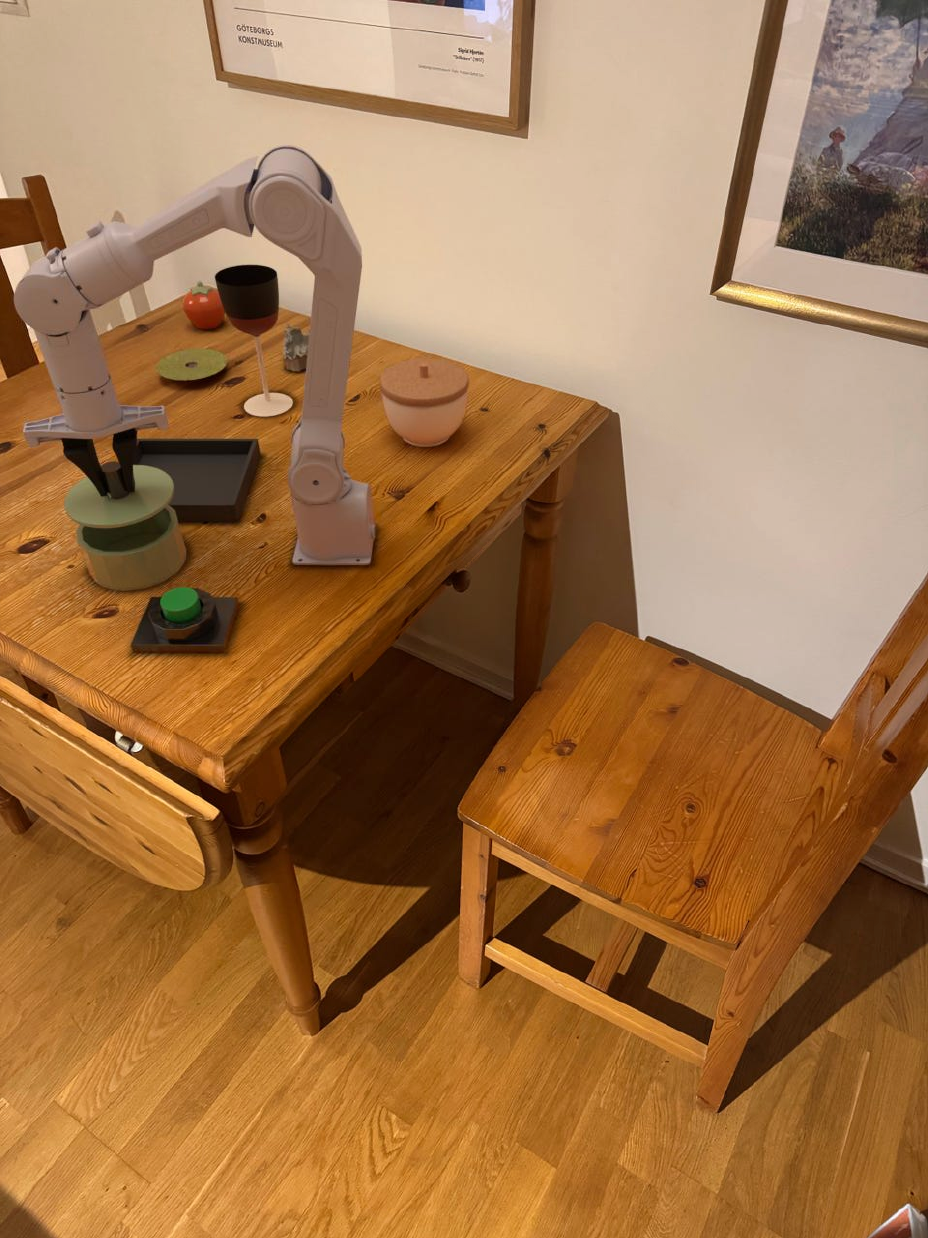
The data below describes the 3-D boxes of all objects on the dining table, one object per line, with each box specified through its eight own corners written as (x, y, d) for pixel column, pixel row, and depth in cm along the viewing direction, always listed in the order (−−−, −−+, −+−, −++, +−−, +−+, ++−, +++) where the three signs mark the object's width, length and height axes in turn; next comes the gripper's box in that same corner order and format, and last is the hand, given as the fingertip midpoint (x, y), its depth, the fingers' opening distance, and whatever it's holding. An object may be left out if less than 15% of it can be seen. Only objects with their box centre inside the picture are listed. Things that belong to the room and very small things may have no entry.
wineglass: (286, 419, 131) (264, 288, 117) (232, 414, 132) (205, 283, 118) (303, 394, 136) (285, 266, 123) (251, 389, 138) (228, 262, 124)
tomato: (217, 313, 159) (208, 269, 154) (237, 326, 155) (228, 281, 150) (180, 324, 156) (169, 280, 151) (199, 337, 152) (189, 292, 146)
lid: (187, 472, 105) (178, 438, 101) (160, 532, 96) (149, 497, 92) (87, 472, 105) (75, 438, 102) (51, 532, 96) (36, 497, 93)
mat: (238, 360, 145) (236, 350, 144) (215, 392, 137) (212, 381, 136) (174, 356, 146) (172, 346, 145) (148, 388, 138) (144, 377, 137)
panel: (239, 604, 99) (234, 584, 97) (224, 653, 94) (219, 633, 92) (153, 604, 100) (146, 584, 98) (133, 653, 94) (125, 633, 92)
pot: (196, 533, 110) (186, 497, 106) (173, 591, 101) (162, 555, 98) (107, 532, 110) (94, 497, 106) (76, 591, 101) (62, 555, 98)
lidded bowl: (367, 443, 125) (360, 373, 118) (411, 406, 134) (407, 337, 126) (443, 465, 121) (441, 393, 113) (483, 425, 129) (484, 355, 122)
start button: (204, 598, 96) (201, 586, 95) (196, 623, 93) (192, 611, 92) (169, 598, 96) (165, 586, 95) (159, 622, 93) (155, 610, 92)
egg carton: (289, 345, 150) (285, 322, 147) (332, 343, 150) (329, 320, 147) (282, 373, 142) (278, 349, 139) (328, 371, 142) (325, 348, 139)
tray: (261, 455, 123) (257, 438, 121) (238, 522, 111) (234, 504, 109) (141, 455, 123) (136, 438, 121) (105, 522, 111) (99, 504, 109)
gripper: (154, 355, 94) (182, 462, 103) (13, 371, 91) (55, 480, 101) (153, 385, 89) (183, 494, 98) (4, 403, 86) (49, 514, 96)
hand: (118, 489), depth 99 cm, fingers closed on lid, 2 cm apart
